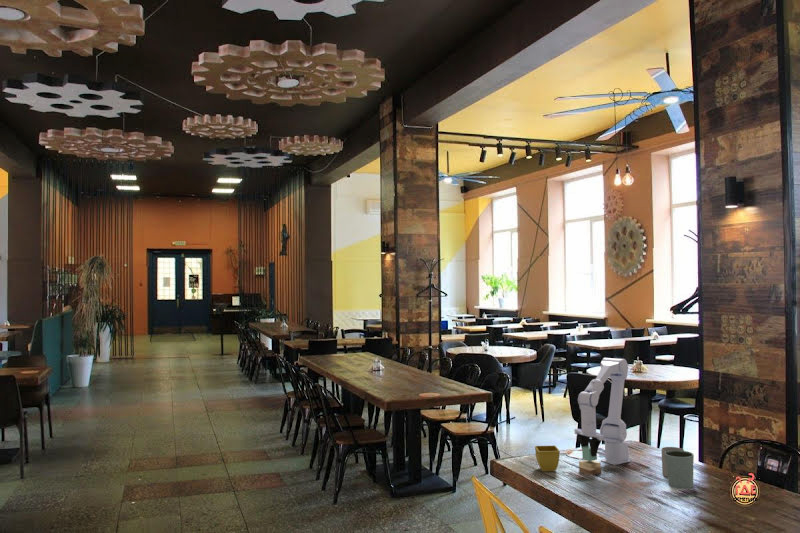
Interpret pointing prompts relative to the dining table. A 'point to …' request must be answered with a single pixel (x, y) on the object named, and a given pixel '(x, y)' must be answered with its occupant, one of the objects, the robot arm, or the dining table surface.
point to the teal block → (587, 454)
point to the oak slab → (589, 464)
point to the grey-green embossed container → (680, 468)
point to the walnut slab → (590, 471)
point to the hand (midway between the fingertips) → (589, 454)
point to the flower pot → (547, 457)
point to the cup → (664, 468)
